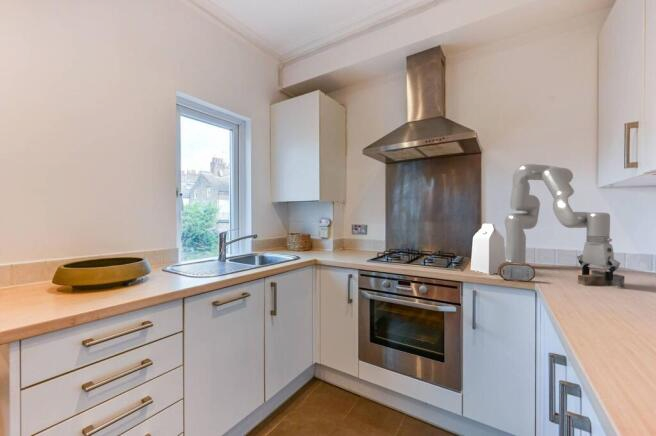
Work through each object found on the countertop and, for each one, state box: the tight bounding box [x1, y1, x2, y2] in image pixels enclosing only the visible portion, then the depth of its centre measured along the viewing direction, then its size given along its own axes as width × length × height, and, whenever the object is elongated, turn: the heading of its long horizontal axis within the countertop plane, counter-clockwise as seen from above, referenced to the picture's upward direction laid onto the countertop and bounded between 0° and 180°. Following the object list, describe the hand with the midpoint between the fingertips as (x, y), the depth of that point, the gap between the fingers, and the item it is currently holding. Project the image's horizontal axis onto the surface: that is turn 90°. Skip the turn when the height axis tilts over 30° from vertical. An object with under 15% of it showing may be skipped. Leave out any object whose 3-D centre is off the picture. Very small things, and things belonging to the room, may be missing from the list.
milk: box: [470, 222, 506, 275], centre depth 153 cm, size 12×12×26 cm
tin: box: [497, 262, 536, 282], centre depth 133 cm, size 15×3×8 cm, turn 74°
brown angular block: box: [577, 269, 625, 288], centre depth 127 cm, size 14×12×5 cm
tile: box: [578, 269, 619, 275], centre depth 143 cm, size 2×10×10 cm
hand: (596, 277), depth 127 cm, fingers open, 9 cm apart
